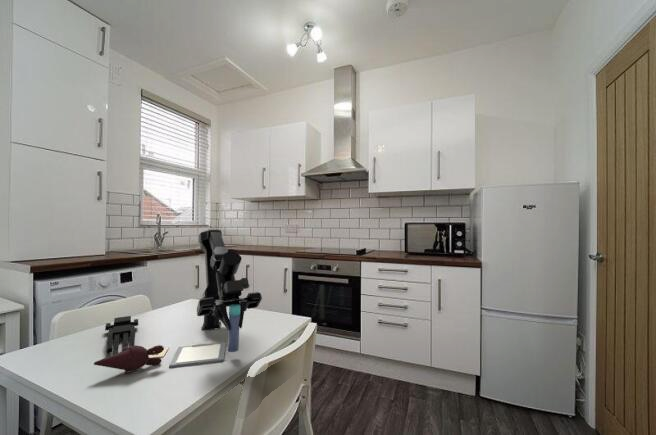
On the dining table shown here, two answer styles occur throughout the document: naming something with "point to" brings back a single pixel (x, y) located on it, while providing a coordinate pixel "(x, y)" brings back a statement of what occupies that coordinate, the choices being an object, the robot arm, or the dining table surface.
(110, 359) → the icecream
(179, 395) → the dining table surface
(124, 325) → the toy
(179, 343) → the dining table surface
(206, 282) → the robot arm
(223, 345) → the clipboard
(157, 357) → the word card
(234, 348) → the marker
